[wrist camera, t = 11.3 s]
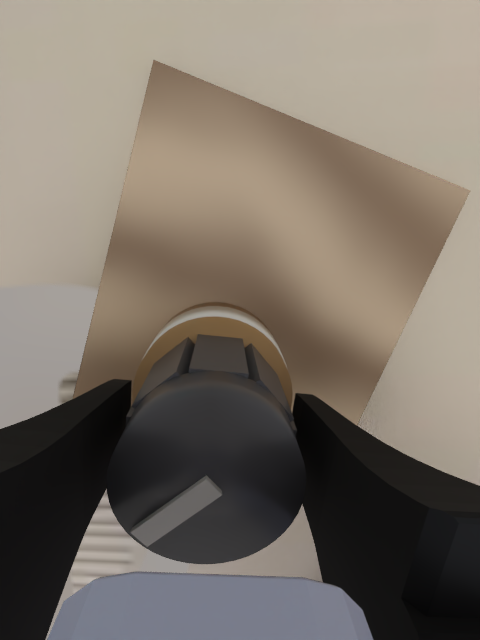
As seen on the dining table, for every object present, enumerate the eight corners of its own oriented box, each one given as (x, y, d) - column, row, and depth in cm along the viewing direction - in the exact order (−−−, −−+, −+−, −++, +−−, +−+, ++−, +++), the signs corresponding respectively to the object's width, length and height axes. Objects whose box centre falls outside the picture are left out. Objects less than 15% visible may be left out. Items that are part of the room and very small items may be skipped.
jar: (254, 433, 17) (265, 509, 12) (137, 400, 16) (101, 470, 11) (297, 324, 15) (329, 364, 11) (171, 283, 15) (146, 307, 10)
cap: (223, 309, 11) (222, 359, 7) (302, 404, 12) (345, 500, 8) (121, 388, 12) (60, 482, 8) (205, 472, 13) (195, 597, 9)
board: (324, 479, 18) (327, 486, 18) (72, 413, 17) (68, 418, 16) (462, 192, 15) (470, 190, 14) (156, 66, 13) (153, 59, 12)
